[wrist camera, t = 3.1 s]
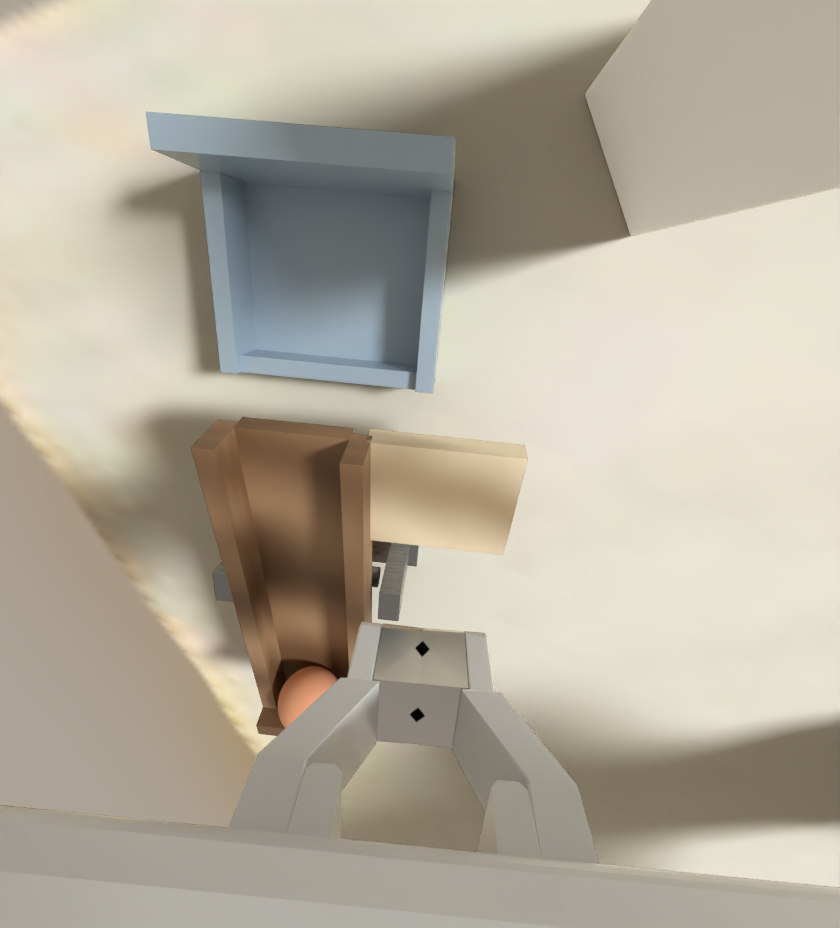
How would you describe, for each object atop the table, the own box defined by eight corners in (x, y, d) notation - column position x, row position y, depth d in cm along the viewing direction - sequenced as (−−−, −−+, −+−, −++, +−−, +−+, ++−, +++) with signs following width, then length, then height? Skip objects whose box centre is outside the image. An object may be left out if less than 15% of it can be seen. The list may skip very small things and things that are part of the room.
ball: (348, 656, 24) (332, 719, 21) (349, 692, 26) (335, 754, 23) (288, 649, 24) (264, 710, 21) (292, 685, 26) (271, 747, 23)
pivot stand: (417, 560, 27) (406, 640, 21) (262, 543, 28) (208, 617, 22) (422, 505, 26) (412, 575, 20) (258, 487, 26) (198, 551, 20)
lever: (462, 683, 28) (462, 759, 24) (281, 661, 28) (255, 733, 25) (522, 433, 17) (537, 503, 14) (229, 403, 18) (168, 463, 14)
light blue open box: (454, 177, 19) (455, 136, 13) (434, 379, 23) (429, 412, 17) (233, 159, 19) (145, 111, 14) (248, 360, 23) (183, 387, 17)
